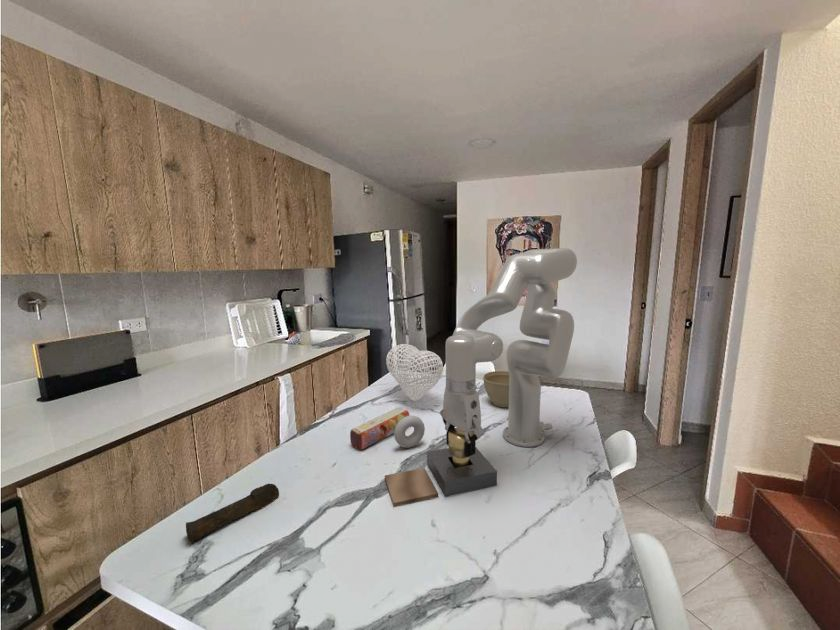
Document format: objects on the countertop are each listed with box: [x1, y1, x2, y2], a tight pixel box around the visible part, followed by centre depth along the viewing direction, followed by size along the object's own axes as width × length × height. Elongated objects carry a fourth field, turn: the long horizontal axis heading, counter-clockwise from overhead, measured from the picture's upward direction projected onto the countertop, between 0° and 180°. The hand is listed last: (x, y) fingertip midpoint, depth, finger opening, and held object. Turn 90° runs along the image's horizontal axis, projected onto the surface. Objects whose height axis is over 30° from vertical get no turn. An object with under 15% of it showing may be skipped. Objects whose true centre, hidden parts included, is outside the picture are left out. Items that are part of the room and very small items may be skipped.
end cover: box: [448, 427, 472, 468], centre depth 91 cm, size 6×6×10 cm
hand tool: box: [185, 483, 280, 544], centre depth 77 cm, size 19×4×5 cm, turn 133°
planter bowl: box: [482, 370, 509, 408], centre depth 137 cm, size 16×16×11 cm
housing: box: [426, 447, 498, 498], centre depth 92 cm, size 14×14×4 cm
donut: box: [393, 415, 426, 448], centre depth 106 cm, size 10×4×10 cm, turn 116°
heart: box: [385, 343, 444, 402], centre depth 140 cm, size 28×16×22 cm, turn 36°
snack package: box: [349, 406, 411, 451], centre depth 113 cm, size 21×7×7 cm, turn 137°
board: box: [384, 467, 439, 508], centre depth 87 cm, size 11×11×1 cm
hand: (460, 448), depth 91 cm, fingers closed on end cover, 6 cm apart
